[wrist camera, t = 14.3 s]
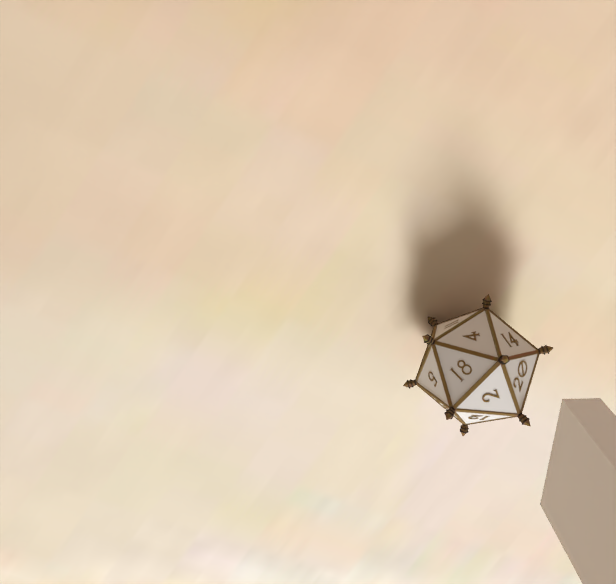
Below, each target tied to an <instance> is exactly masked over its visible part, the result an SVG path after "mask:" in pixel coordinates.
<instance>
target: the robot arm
mask: <svg viewBox="0 0 616 584" xmlns="http://www.w3.org/2000/svg"><path fill="white" fill-rule="evenodd" d="M540 505H541V507H542V509H543V510H544V512H545V514H546V516H547V518H548V520H549V522H550V524H551V525H552V527H553V529H554V531H555V533H556V535H557V537H558V539H559V540H560V542H561V544H562V546H563V548H564V550H565V552H566V553H567V555H568V557H569V559H570V561H571V563H572V565H573V567H574V568H575V570H576V572H577V574H578V576H579V578H580V580H581V581H582V583H583V584H616V416H615V415H614V414H613V412H612V411H611V410H610V409H609V408H608V407H607V405H606V404H605V403H604V402H603V401H602V400H601V399H600V398H593V399H562V403H561V408H560V413H559V418H558V422H557V427H556V432H555V437H554V441H553V446H552V451H551V456H550V460H549V465H548V470H547V475H546V479H545V484H544V489H543V494H542V499H541V503H540Z"/></svg>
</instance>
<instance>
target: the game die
mask: <svg viewBox="0 0 616 584" xmlns="http://www.w3.org/2000/svg"><path fill="white" fill-rule="evenodd" d="M490 302H491V300H490V297H489V294H488V295H487V296H486V297H485V298H484V299H483V303H482V304H483V308H481V309H478V310H476V311H473V312H470V313H467V314H464V315H461V316H458V317H456V318H453V319H450V320H447V321H444V322H441V323H437V320H435V318H431V317H428V323H429V324H431V326H434V328H433V331H432V334H431V336H429V335H425V336H423V339H424V343H427V344H428V345H427V348H426V351H425V354H424V357H423V359H422V362H421V365H420V368H419V371H418V373H417V376H416V379H415V380H410V381H408V380H407V382H406V383H405V384H404V385H403V386H406V387H409V388H410V387H413V386H415V385H417V386H419V387H420V388H421V389H422V390H423V391H424V392H426V393H427V394H428V395H429V396H430V397H432V398H433V399H434V400H435V401H436V402H437V403H439V404H440V405H441V406H442V407H443V408H445V409H446V411H447V412H445V415H446V419H447V420H448V419H452V418H453V416H454V417H455V418H456V419H457V420H459V421H460V422H461V423H462V426H461V429H460V432H461V433H462V436H464V435H465V434H466V433H467V432H468V429H469V428H468V425H469V424H475V423H481V422H487V421H494V420H500V419H506V418H512V417H518V418H519V421H521V422H522V425H523V424H524V425H527V426H530V422H529V418H527V417H526V415H523V414H522V411H523V408H524V404H525V401H526V397H527V394H528V391H529V387H530V384H531V381H532V377H533V374H534V371H535V367H536V364H537V361H538V357H539V354H545V353H548V354H549V352H550V351H551V350H552V349H553V347H549V346H546V345H545V346H542V347H541V348H539V349H537V348H536V347H535V346H534V345H533V344H531V343H530V342H529V341H528V340H526V339H525V338H524V337H523V336H521V335H520V334H519V333H518V332H517V331H515V330H514V329H513V328H512V327H510V326H509V325H508V324H507V323H506V322H504V321H503V320H502V319H501V318H499V317H498V316H497V315H496V314H495V313H493V312H492V311H491V310H490V309H489V306H490V305H491V304H490Z"/></svg>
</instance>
